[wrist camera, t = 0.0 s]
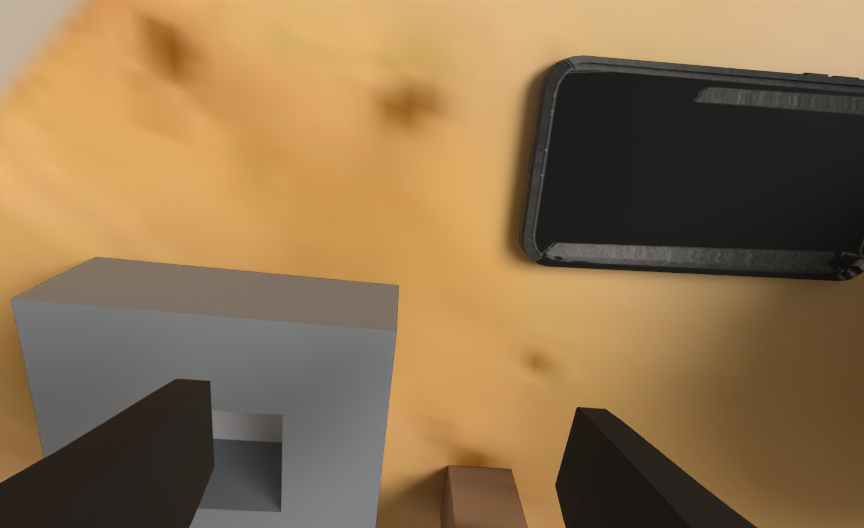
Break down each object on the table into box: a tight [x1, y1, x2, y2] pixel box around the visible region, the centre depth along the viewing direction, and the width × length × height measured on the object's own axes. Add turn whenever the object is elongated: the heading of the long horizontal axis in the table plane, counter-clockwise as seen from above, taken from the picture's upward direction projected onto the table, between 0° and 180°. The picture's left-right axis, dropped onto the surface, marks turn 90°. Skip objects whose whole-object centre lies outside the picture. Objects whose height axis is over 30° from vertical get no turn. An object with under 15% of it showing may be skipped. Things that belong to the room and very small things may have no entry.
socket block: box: [11, 257, 399, 528], centre depth 18 cm, size 12×12×4 cm
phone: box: [519, 56, 864, 281], centre depth 18 cm, size 8×1×15 cm
